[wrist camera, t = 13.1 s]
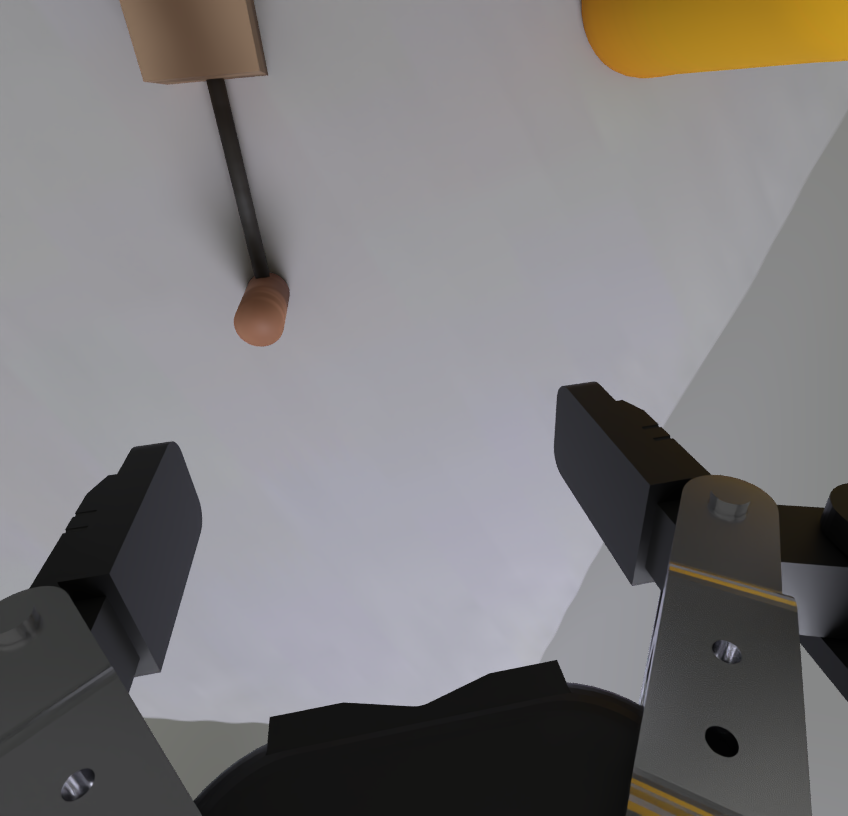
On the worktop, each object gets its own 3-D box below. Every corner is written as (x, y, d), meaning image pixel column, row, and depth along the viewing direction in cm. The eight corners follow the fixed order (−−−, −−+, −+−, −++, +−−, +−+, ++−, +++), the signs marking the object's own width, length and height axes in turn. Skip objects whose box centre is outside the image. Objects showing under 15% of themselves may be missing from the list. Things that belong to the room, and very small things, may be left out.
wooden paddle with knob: (233, -99, 29) (211, -151, 23) (313, 305, 40) (311, 339, 35) (118, -92, 28) (64, -143, 22) (232, 316, 40) (216, 352, 34)
